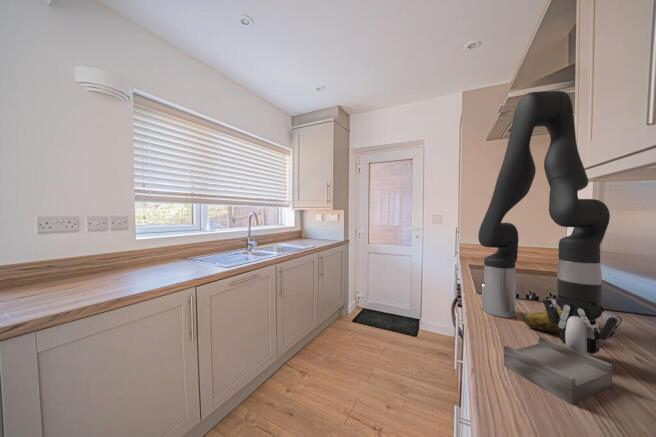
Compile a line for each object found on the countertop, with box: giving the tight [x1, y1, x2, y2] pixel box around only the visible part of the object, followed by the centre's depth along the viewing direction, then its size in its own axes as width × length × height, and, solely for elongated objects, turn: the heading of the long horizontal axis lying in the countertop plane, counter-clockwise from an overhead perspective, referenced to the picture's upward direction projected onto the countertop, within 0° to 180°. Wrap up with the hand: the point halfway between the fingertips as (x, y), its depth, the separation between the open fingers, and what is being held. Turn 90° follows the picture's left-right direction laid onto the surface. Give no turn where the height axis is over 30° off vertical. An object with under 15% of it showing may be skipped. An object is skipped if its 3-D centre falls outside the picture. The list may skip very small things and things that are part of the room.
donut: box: [565, 316, 589, 355], centre depth 57 cm, size 10×4×10 cm, turn 123°
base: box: [503, 336, 613, 405], centre depth 51 cm, size 12×14×4 cm
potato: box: [523, 308, 562, 334], centre depth 70 cm, size 8×13×8 cm, turn 28°
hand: (578, 347), depth 58 cm, fingers closed on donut, 4 cm apart
